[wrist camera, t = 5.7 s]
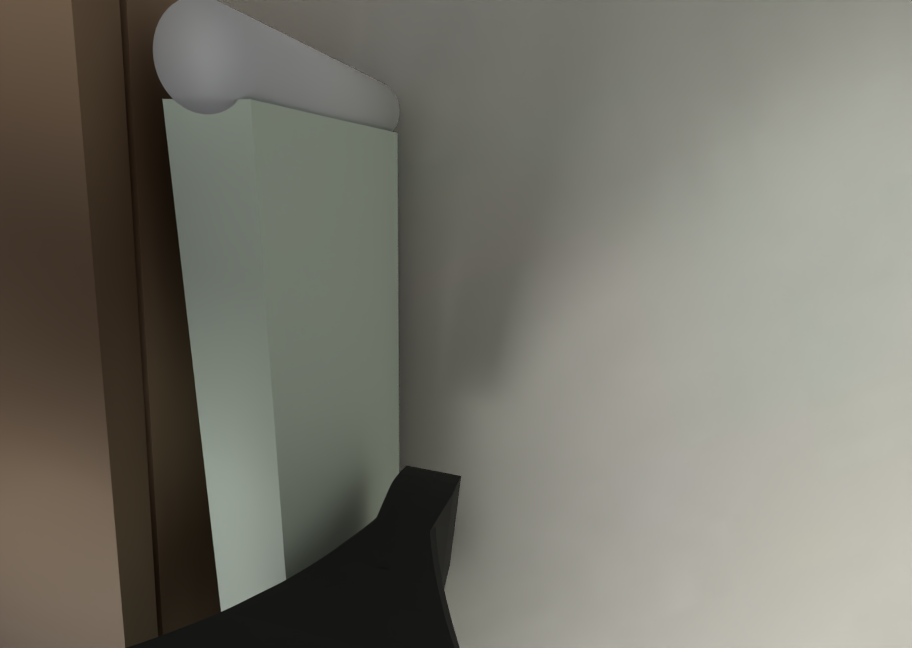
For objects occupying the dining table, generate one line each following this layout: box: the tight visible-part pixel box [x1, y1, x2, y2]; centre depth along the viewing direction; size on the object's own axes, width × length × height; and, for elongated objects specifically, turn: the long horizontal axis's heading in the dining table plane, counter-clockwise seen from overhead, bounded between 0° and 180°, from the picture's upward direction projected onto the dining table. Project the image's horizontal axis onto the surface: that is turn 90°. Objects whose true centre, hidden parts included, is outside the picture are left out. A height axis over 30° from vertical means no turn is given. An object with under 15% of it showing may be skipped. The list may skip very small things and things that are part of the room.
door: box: [153, 0, 400, 612], centre depth 10 cm, size 16×2×6 cm, turn 178°
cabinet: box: [0, 0, 221, 648], centre depth 11 cm, size 18×9×6 cm, turn 173°
